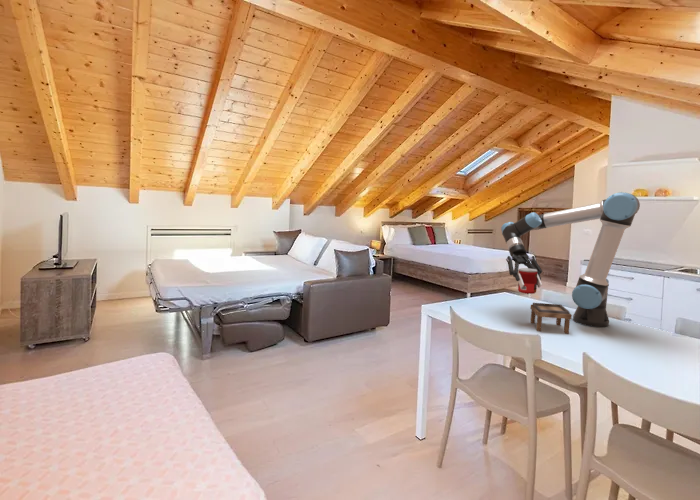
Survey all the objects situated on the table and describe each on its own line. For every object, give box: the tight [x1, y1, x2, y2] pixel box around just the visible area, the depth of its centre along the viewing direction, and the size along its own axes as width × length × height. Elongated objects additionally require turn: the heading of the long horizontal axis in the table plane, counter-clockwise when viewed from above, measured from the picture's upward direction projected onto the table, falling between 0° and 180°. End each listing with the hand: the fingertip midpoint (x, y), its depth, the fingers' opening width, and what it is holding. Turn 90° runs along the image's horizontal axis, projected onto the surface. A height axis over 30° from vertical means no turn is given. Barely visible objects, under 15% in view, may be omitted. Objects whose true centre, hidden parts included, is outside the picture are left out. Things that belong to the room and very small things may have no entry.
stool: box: [530, 302, 573, 335], centre depth 178 cm, size 14×14×10 cm
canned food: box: [517, 267, 538, 295], centre depth 180 cm, size 8×8×11 cm
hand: (531, 286), depth 177 cm, fingers closed on canned food, 8 cm apart
